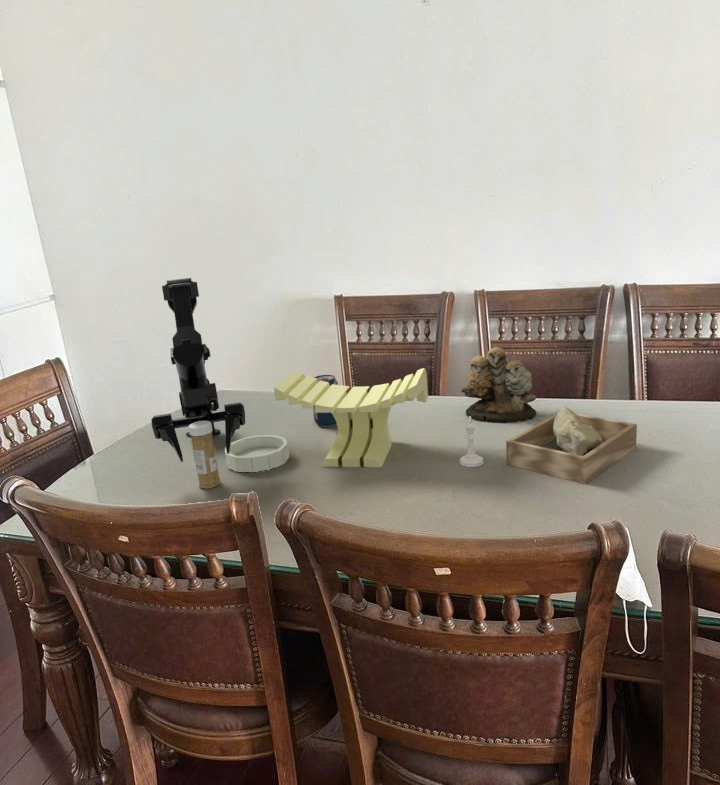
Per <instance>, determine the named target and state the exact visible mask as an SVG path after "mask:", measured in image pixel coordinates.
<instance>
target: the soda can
mask: <svg viewBox="0 0 720 785" xmlns="http://www.w3.org/2000/svg"><path fill="white" fill-rule="evenodd" d="M313 378H317V381H318V382H319V381H325V382H329V384H330V386H331V385H332V384H334V385H339V382H338V381H337V379H336V376H335V375H333V374H321V375H316V376H313ZM312 412H313V414H312V415H313V421H314V422H315V424H316V425H317V426H318V425H319V426H318V427H321V426H322V427H321V428H328V426H330V427H334V426H336V425H337V423H336V420H335V418H334V416H333V414H332V413H315V405H314V406H313V407H312Z"/></svg>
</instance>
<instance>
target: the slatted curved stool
mask: <svg viewBox="0 0 720 785" xmlns="http://www.w3.org/2000/svg"><path fill="white" fill-rule="evenodd" d="M428 387H429V386H428V374H427V370H426V368H425V367H423V368H420V369H417V370H416V372H415V374H414V373H411V374H410V373H409V374H407V375H405V376H404V378H403V379H402V378H399V379H398V378H397V379H395V380H392V382H391V384H390V383H389V382H388V383H383V384H382V383H381V384H375V385H373V386H372V387H370V385H369V386H368V385H366V386H352V388H350V386H349V385H342V384H338V385H334V384H332V385H331V386H330V384H329V382H325V381H319V382H318V381H317V378H314V376H309V375H307V376H306V375H305V373H304V372H301V371H292V372H290V373H289V374H288V375H287V376H286V377H285V378H283V380H281V381H280V382H278V383H277V385H275V386H274V387H273V389H274V397H275V401H285V400H286V399H287V400H288V405H298V404H301V409H302V410H304V409H306V410H307V409H313V406H314V405H315V413H332V414H333V416H334V418H335V420H336V423H337V435H336V438H335V441H334V443H333V445H332V446H331V448H330V451H328V453H327V454H326V456H325V458H324V461H323V463H322V465H321V466H322V468H326V467H327V468H331V467H332V468H338V467H339V466H342V468H361V466H363V467H364V468H383V465H384V463H385V461H386V458H387V457H388V455H389V452H390V450H391V447H392V438H391V436H390V432H389V426H388V425H389V415H390V412H391V409H392V406H394V405H396V404H404V403H405V402H413V401H414V399H416V401H417V402H420V403H427V400H428V398H429V389H428Z"/></svg>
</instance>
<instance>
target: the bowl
mask: <svg viewBox="0 0 720 785" xmlns="http://www.w3.org/2000/svg"><path fill="white" fill-rule="evenodd" d="M288 445H289V443H288V442H287V440H286V438H285V437H282V436H279V435H275V434H272V435H271V434H259V435H252V436H245V437H243V438H240V439H236V440H235V441H232V442H231V447H230V452H229V454H227V451H226V447H224V454H225V462H226V466H228V467H227V469H228V468H229V469H232V470H234V471H233V472H235V471H237V472H256V471H262V470H268V469H271V468H274V467H276V466H278V465H281V464H283V463H284V462H285V461H286V460H287V459H288V458H289V459H290V452H289V446H288ZM289 459H288V460H289ZM288 460H287V461H288ZM287 461H286V462H287ZM286 462H285V463H286ZM285 463H284V464H285ZM284 464H283V465H284ZM281 466H282V465H281ZM276 468H277V467H276ZM229 469H228V470H229ZM274 469H275V468H274ZM232 470H231V471H232ZM268 471H269V470H268ZM237 472H236V473H237ZM262 472H263V471H262Z"/></svg>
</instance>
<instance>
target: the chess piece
mask: <svg viewBox="0 0 720 785" xmlns="http://www.w3.org/2000/svg"><path fill="white" fill-rule="evenodd" d="M472 420H473V419H472V418H471V416H469V417H468V419H467V423H468V424H466V425H465V427H464V428H465V430H466V433H467V434H466V435H465V436H464V437H465V439H466V440H467V452H466V453H465V455H463V456H461V457H460V458H459V465H460V466H463V467H467V468H475V467H480V466H482V465H483V464H484V463H485V461H484V458H483V457H482V456H481V455H478V454H477V453H476V451H475V450H476V449H475V445H474V440H475V439H476V435H475V434H474V433H475V429H476V425H475V424H474V423H472V422H473V421H472Z"/></svg>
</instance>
